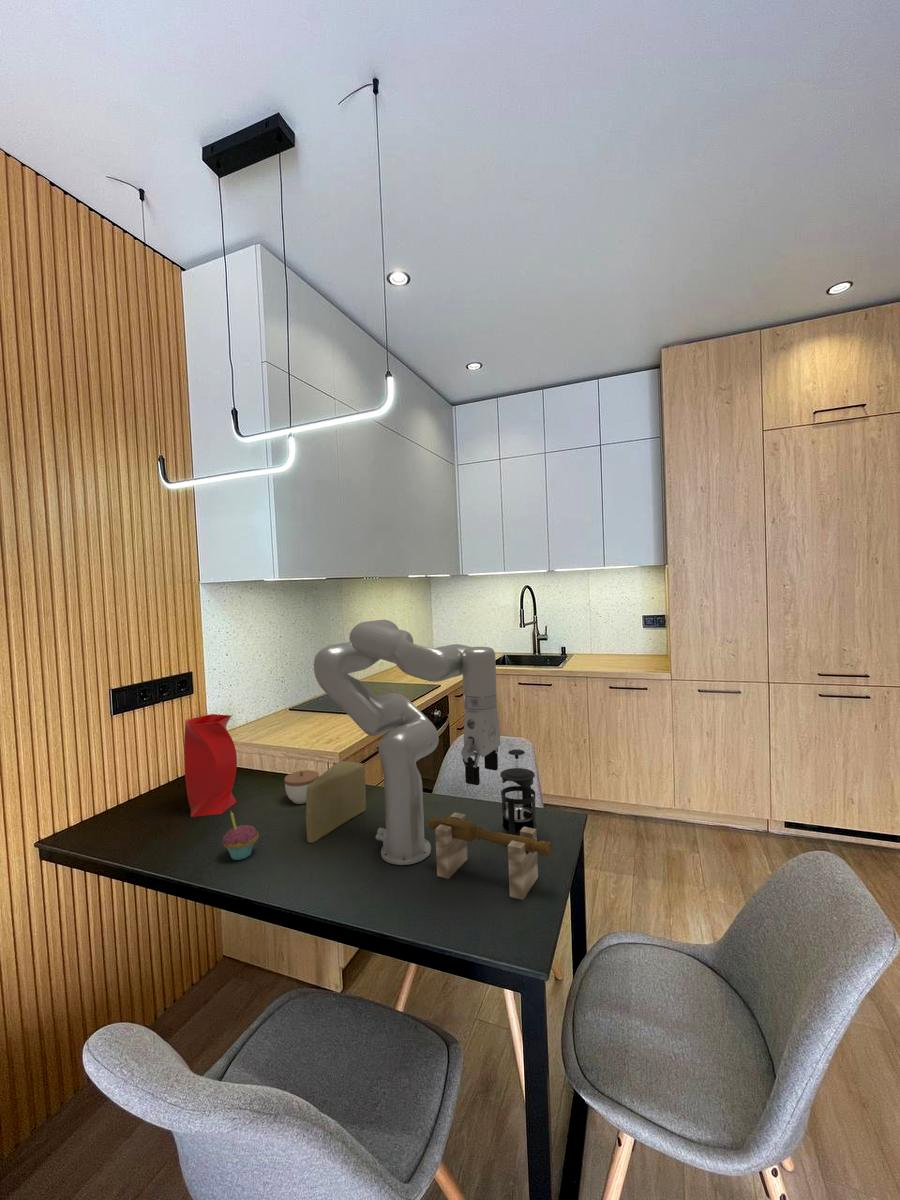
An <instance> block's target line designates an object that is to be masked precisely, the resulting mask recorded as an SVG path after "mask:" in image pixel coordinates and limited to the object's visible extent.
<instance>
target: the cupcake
mask: <svg viewBox="0 0 900 1200" xmlns="http://www.w3.org/2000/svg"><path fill="white" fill-rule="evenodd" d="M229 811H230V819H231V822H232V827H233V828H230V829H229V830H228V831H226V833H225V834H224V835H223V837H222V839H221V841H222V845H223V847H224V848H226V849H227V850H228V853H229V855H230V858H231V859H232V860H235V861H238V860H239V861H240V860H241V861H242V860H244V859H247V858H248V857H250V856H251V855H252V853H253V848H254V844H255V843H256V842H257V841H258V840H259V839H260V838H259V837H260V836H259V832H258V831H259V830H258V829H257V828H256V827H254V826H253V825H249V824H245V825H243V824H241V825H238V826H237V823H236V819H235V815H234V812H232V810H229Z"/></svg>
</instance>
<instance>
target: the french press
mask: <svg viewBox="0 0 900 1200" xmlns="http://www.w3.org/2000/svg"><path fill="white" fill-rule="evenodd" d="M525 753H526V752H525V751H524V750H523V749H511V750H509V751H508V754H509V755H511V756H514V759H516V760H515V761H516V764H515V765H516V767H514V768H513V767H512V768H508V769H507V768H506V769H504V770H502V771H501V772H500V777H501V781H502V784H505V783H506V782H513V783H516V785H513V786H512V785H511V786H507V787H505V788H503V789H501V791H500V798H501V807H502V809H501V811H502V824H501V825H502V830H501V831H502V833H506V834H511V835H517V836H520V832H516V831H520V830H521V829H522V828H523V827H528V828H533V829H536V834H537V841H538V839H539V836H538V832H537V831H538V830H537V828H538V827H537V826H538V825H537V815H536V814H537V813H536V812H537V811H536V798H537V797H536V796H537V795H536V791H535V790H534V789H533V788H532V786H533V784H534V778H535V775H536V774H535V772H534V771H533V770H530V769H527V768H520V767H519V763H518V759H519V758H520V757H519V756H523V755H524V754H525ZM511 792H517V798H509V797H507V796H506V794H507V793H511ZM520 792H522V793H521V796H522V798H521V799H520ZM506 804H507V805H506ZM515 805H517V806H515ZM520 805H522V806H520Z"/></svg>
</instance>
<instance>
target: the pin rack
mask: <svg viewBox="0 0 900 1200" xmlns="http://www.w3.org/2000/svg"><path fill="white" fill-rule="evenodd" d="M466 815H467V814H466V813H465V814H464V813H460V812H454V813H452V814H451V815H450V816H449V817H451V818H455V819H460V820H465V821H467V818H466V817H467V816H466ZM434 832H435V855H436V856H435V857H436V876H437V877H438V878H442V879H445V880H446V879H447V880H449V879H450V878H451V877H452V876H453V875H454V874H455V873H456V872H457V871H458V869H460V868H461V867H462V866H463V865H464V864H465V862H466V861H468V843H467V842H468V841H465V840H461V839H456V838H452V827H450V826H446V825H441V824H440V825H439V826H438V827H437V828H436V829H435V830H434ZM519 833H520V836H523V837H528V838H531V839H536V841H537V842H538V840H537V835H538V833H537V834H536V829H533V828H528V827H523V828H522V829H521V830H519ZM507 856H508V857H507V860H508V862H507V863H508V886H509V888H508V889H509V897H510V898H513V899H517V900H521V901H524V900H525V899H526V897H527V895H528V893H529V892H530V891H531V889H532V888H533V886H534V885H535V883H536V882H537V879H538V878H539V869H538V868H539V867H538V852H534V853H532V852H527V851H525V843H522V842H517V841H513V840H512V841H511V842H510V843H509V845H508V846H507Z"/></svg>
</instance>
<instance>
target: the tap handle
mask: <svg viewBox="0 0 900 1200" xmlns="http://www.w3.org/2000/svg"><path fill="white" fill-rule="evenodd" d="M440 824H441V825H446V826H450V827H452V838H456V839H461V840H465V841H467V842H473V841H474V840H477V841H481V840H483V841H487V842H490V843H495V844H498V845H501V846H505V847H508V845H509V843H510V842H511V841H512V840H513V841H517V842H522V843H525V851H527V852H532V853H534V852H537V854H539V855H541V856H545V857H550V856H551V853H552V843H551V842H550V841H545V840H539V841H538V840H537V841H536V839H531V838H528V837H523V836H517V835H511V834H506V833H503V832H498V831H494V830H487V829H483V827H478V825H477V823H476V822H474V821H468V820H466V821H465V820H460V819H455V818H451V817H450V816H446V817H443V818H441V819H439V818H438V817H436V816H435V817H431V818H430V819H429V821H428V826H429V828H430V829H431V830H432V831H435V829H436V828H437V827H438V826H439V825H440Z"/></svg>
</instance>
